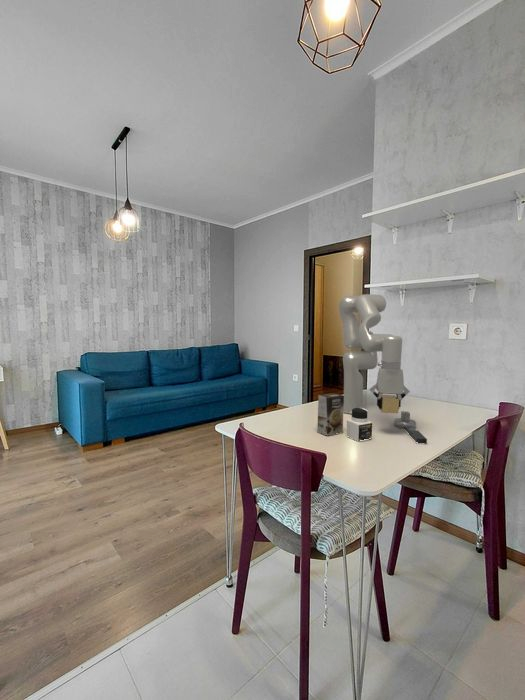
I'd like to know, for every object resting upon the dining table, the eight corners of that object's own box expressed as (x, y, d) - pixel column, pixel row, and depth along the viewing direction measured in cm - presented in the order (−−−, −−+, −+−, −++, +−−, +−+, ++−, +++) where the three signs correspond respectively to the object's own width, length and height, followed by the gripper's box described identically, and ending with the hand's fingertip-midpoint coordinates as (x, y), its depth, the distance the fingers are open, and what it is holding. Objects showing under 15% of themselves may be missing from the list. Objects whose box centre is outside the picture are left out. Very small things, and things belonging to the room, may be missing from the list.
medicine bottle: (358, 442, 129) (359, 412, 128) (346, 436, 135) (346, 407, 134) (372, 439, 132) (373, 409, 131) (359, 434, 139) (360, 405, 138)
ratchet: (409, 443, 128) (410, 427, 128) (392, 422, 155) (392, 409, 154) (434, 444, 127) (434, 428, 127) (412, 423, 153) (412, 410, 153)
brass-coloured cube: (382, 412, 136) (382, 398, 135) (378, 408, 142) (379, 394, 142) (398, 413, 135) (399, 399, 135) (394, 409, 142) (395, 395, 141)
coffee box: (327, 436, 135) (328, 397, 134) (316, 432, 140) (317, 394, 139) (343, 433, 140) (344, 395, 138) (332, 428, 145) (333, 392, 144)
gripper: (370, 366, 134) (368, 409, 136) (415, 368, 132) (413, 412, 134) (367, 363, 142) (365, 404, 144) (410, 365, 139) (407, 406, 141)
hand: (388, 407), depth 139 cm, fingers closed on brass-coloured cube, 6 cm apart
